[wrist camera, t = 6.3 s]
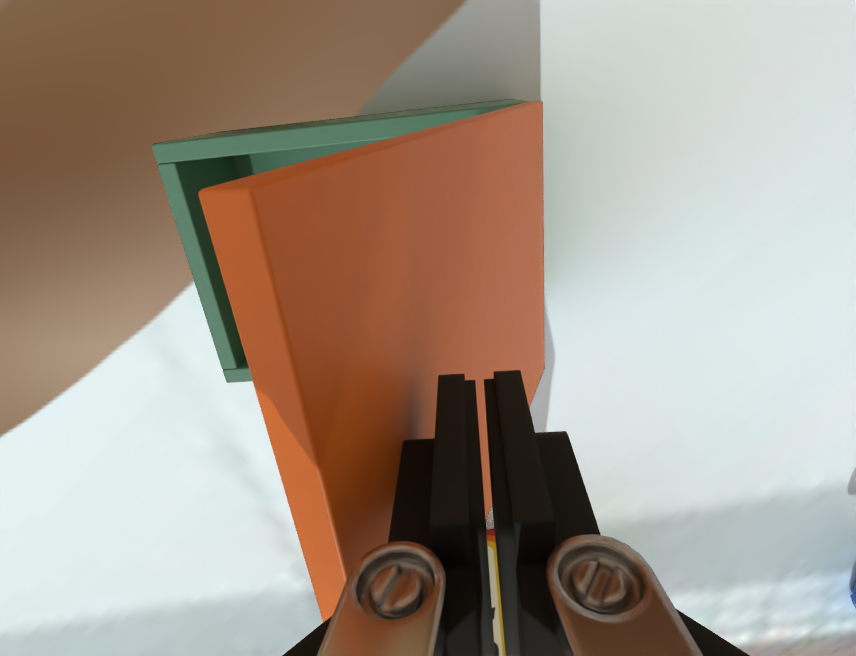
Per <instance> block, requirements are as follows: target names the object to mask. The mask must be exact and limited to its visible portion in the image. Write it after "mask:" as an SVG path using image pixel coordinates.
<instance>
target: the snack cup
mask: <svg viewBox="0 0 856 656" xmlns="http://www.w3.org/2000/svg"><path fill="white" fill-rule="evenodd" d="M851 599H852V602H853V604H854V606H855V608H856V584H855V586H854V588H853V594H851Z"/></svg>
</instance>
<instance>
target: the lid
mask: <svg viewBox="0 0 856 656" xmlns="http://www.w3.org/2000/svg"><path fill="white" fill-rule="evenodd" d="M199 199H200V202H201V205H202V209H203V212H204V216H205V219H206V223H207V226H208V229H209V233H210V236H211V240H212V243H213V246H214V250H215V253H216V257H217V260H218V264H219V267H220V270H221V274H222V277H223V281H224V284H225V288H226V291H227V294H228V298H229V301H230V305H231V308H232V312H233V315H234V318H235V322H236V325H237V329H238V332H239V335H240V339H241V342H242V346H243V349H244V353H245V356H246V359H247V363H248V366H249V370H250V373H251V377H252V380H253V383H254V387H255V390H256V394H257V397H258V401H259V404H260V407H261V411H262V414H263V418H264V421H265V424H266V428H267V431H268V435H269V438H270V442H271V445H272V448H273V452H274V455H275V459H276V462H277V466H278V469H279V472H280V476H281V479H282V483H283V486H284V490H285V493H286V496H287V500H288V503H289V507H290V510H291V513H292V517H293V520H294V524H295V527H296V531H297V534H298V537H299V541H300V544H301V548H302V551H303V555H304V558H305V561H306V565H307V568H308V572H309V575H310V578H311V582H312V585H313V589H314V592H315V596H316V599H317V602H318V606H319V609H320V613H321V616H322V620H323V623H324V622H325V621H326V620H327V619H329V618H330V617H331V616H332V615H333V613H334V611H335V608H336V605H337V603H338V600H339V598H340V595H341V593H342V590H343V587H344V585H345V582H346V580H347V577H348V575H349V574H350V572H351V570H352V568H353V567H354V565H355V563H356V562H357V561H359V560H360V559H361V558H362V557H363V556H364V555H365V554H366V553H367V552H369V551H371V550H372V549H374V548H376V547H377V546H380V545H383V544H387V543H388V538H389V531H390V524H391V518H392V511H393V504H394V498H395V491H396V484H397V478H398V471H399V464H400V458H401V451H402V445H403V442H404V440H412V439H431V438H435V422H436V405H437V389H438V375H448V374H463V373H464V374H465V380H475V382H476V396H477V409H478V422H479V436H480V449H481V463H482V476H483V489H484V504H485V518H487V516H488V513H489V511H490V508H491V505H492V495H491V482H490V467H489V452H488V437H487V422H486V407H485V392H484V379H494V371H509V370H520V371H521V375H522V379H523V384H524V388H525V392H526V397H527V401H528V405H529V407H530V405H531V402H532V400H533V397H534V394H535V392H536V389H537V387H538V384H539V381H540V379H541V376H542V374H543V371H544V369H545V362H544V225H543V103H542V101H538V102H528V103H521V104H517V105H514V106H510V107H506V108H502V109H499V110H495V111H491V112H488V113H484V114H480V115H476V116H473V117H469V118H465V119H461V120H458V121H454V122H450V123H446V124H443V125H439V126H435V127H431V128H428V129H424V130H420V131H417V132H413V133H409V134H405V135H402V136H398V137H394V138H390V139H387V140H383V141H379V142H375V143H372V144H368V145H364V146H360V147H357V148H353V149H349V150H345V151H342V152H338V153H334V154H331V155H327V156H323V157H319V158H316V159H312V160H308V161H304V162H301V163H297V164H293V165H289V166H286V167H282V168H278V169H274V170H271V171H267V172H263V173H260V174H256V175H252V176H248V177H245V178H241V179H237V180H233V181H230V182H226V183H222V184H218V185H215V186H211V187H207V188H203V189H202V190H200V191H199Z"/></svg>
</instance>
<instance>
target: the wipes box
mask: <svg viewBox="0 0 856 656" xmlns="http://www.w3.org/2000/svg"><path fill="white" fill-rule="evenodd" d="M521 103H528V102H526V101H520V100H514V99H507V100H498V101H489V102H481V103H472V104H463V105H454V106H445V107H436V108H427V109H418V110H409V111H400V112H391V113H383V114H374V115H365V116H356V117H347V118H339V119H329V120H321V121H312V122H302V123H294V124H285V125H276V126H267V127H258V128H249V129H240V130H231V131H222V132H216V133H210V134H205V135H199V136H194V137H188V138H182V139H177V140H172V141H166V142H160V143H154V144H152V145H151V146H152V149H153V152H154V156H155V159H156V162H157V163H159V164H158V168H159V171H160V175H161V178H162V181H163V184H164V187H165V190H166V193H167V196H168V200H169V203H170V206H171V209H172V212H173V216H174V219H175V222H176V225H177V228H178V231H179V234H180V238H181V241H182V244H183V247H184V250H185V253H186V256H187V260H188V263H189V266H190V269H191V272H192V275H193V278H194V282H195V285H196V288H197V291H198V294H199V297H200V300H201V304H202V307H203V310H204V313H205V316H206V319H207V322H208V326H209V329H210V332H211V335H212V338H213V341H214V344H215V348H216V351H217V354H218V357H219V360H220V363H221V366H222V369H223V373H224V376H225V379H226V382H227V383H230V382H245V381H253V380H252V377H251V373H250V370H249V366H248V363H247V359H246V356H245V353H244V349H243V346H242V342H241V339H240V335H239V332H238V329H237V325H236V322H235V318H234V315H233V312H232V308H231V305H230V301H229V298H228V294H227V291H226V288H225V284H224V281H223V277H222V274H221V270H220V267H219V264H218V260H217V257H216V253H215V250H214V246H213V243H212V240H211V236H210V233H209V229H208V226H207V223H206V219H205V216H204V212H203V209H202V205H201V202H200V199H199V191H200V190H202V189H203V188H207V187H211V186H215V185H218V184H222V183H226V182H230V181H233V180H237V179H241V178H245V177H248V176H252V175H256V174H260V173H263V172H267V171H271V170H274V169H278V168H282V167H286V166H289V165H293V164H297V163H301V162H304V161H308V160H312V159H316V158H319V157H323V156H327V155H331V154H334V153H338V152H342V151H345V150H349V149H353V148H357V147H360V146H364V145H368V144H372V143H375V142H379V141H383V140H387V139H390V138H394V137H398V136H402V135H405V134H409V133H413V132H417V131H420V130H424V129H428V128H431V127H435V126H439V125H443V124H446V123H450V122H454V121H458V120H461V119H465V118H469V117H473V116H476V115H480V114H484V113H488V112H491V111H495V110H499V109H502V108H506V107H510V106H514V105H517V104H521Z"/></svg>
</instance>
